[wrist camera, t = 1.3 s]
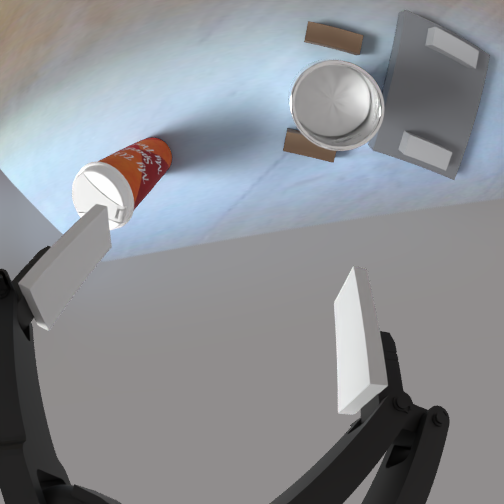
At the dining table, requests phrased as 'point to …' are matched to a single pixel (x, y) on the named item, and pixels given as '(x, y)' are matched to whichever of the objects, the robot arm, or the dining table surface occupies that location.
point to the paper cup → (121, 179)
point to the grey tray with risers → (430, 95)
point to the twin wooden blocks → (334, 40)
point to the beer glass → (336, 104)
